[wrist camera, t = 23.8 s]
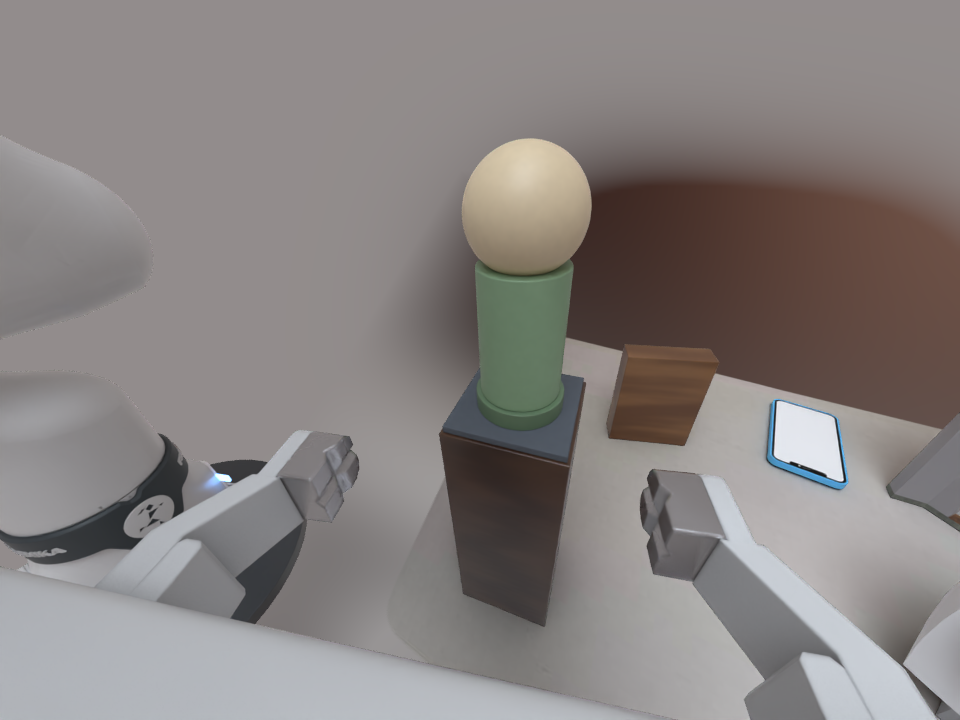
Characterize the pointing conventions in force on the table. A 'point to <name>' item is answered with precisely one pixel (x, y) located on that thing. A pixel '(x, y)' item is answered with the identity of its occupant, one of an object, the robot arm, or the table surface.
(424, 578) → the table surface
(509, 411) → the toy
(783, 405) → the smartphone
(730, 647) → the table surface
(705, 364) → the wooden block
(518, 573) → the pedestal
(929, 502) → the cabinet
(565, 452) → the mat
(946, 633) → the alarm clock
